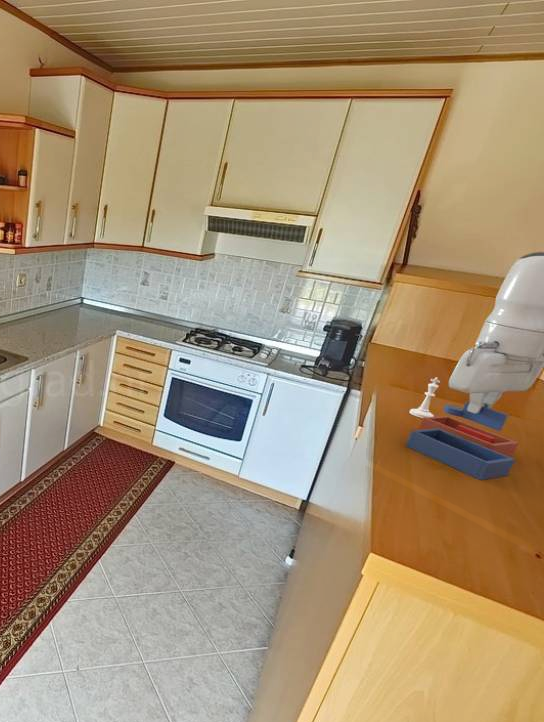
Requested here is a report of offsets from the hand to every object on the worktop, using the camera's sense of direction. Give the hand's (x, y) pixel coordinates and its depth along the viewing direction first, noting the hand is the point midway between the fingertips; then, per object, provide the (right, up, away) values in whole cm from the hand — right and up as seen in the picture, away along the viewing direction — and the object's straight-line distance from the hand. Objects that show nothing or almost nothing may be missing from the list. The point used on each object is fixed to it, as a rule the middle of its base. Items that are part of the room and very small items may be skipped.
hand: (477, 411), depth 93 cm
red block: (+8, -7, +13) cm, 17 cm away
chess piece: (+12, -3, +28) cm, 30 cm away
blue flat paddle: (-1, -1, +2) cm, 2 cm away
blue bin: (-1, -10, +4) cm, 11 cm away
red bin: (+8, -8, +13) cm, 17 cm away
